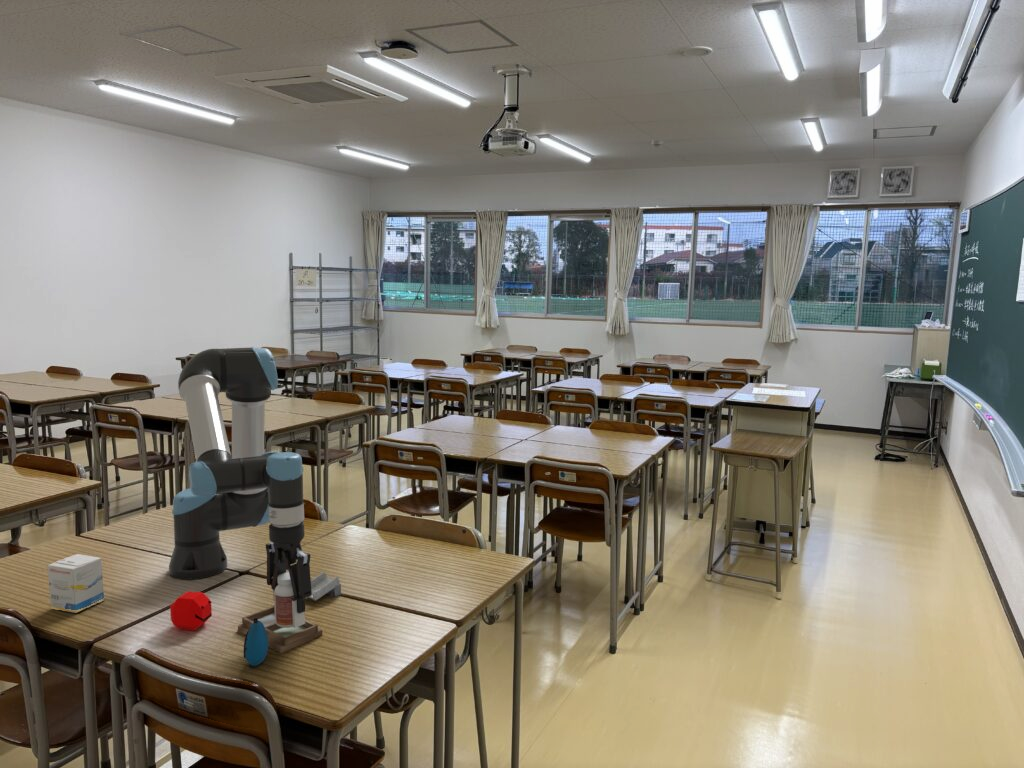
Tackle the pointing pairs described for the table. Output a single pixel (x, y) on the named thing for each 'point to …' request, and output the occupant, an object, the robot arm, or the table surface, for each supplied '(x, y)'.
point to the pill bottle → (284, 601)
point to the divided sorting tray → (281, 630)
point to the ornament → (256, 643)
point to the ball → (190, 610)
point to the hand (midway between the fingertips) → (289, 620)
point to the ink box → (75, 582)
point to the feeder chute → (324, 586)
